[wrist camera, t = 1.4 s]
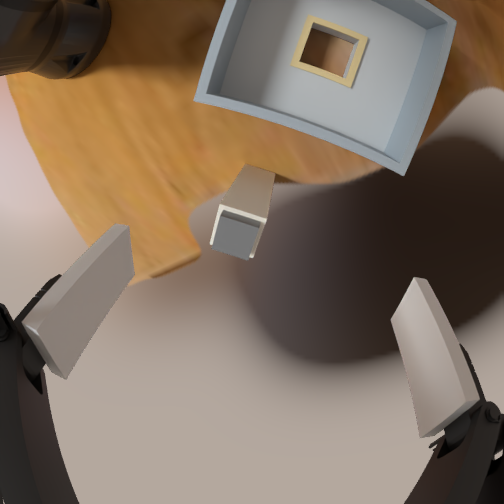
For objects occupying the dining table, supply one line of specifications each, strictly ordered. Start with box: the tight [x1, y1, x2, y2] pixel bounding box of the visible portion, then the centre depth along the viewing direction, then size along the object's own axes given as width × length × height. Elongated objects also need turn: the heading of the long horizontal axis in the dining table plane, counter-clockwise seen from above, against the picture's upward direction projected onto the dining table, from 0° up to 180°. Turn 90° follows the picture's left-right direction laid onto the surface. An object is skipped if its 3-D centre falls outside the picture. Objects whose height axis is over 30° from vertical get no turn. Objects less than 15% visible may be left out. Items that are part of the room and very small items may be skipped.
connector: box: [210, 164, 276, 260], centre depth 29 cm, size 4×4×15 cm
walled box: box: [194, 0, 457, 176], centre depth 22 cm, size 22×20×8 cm
